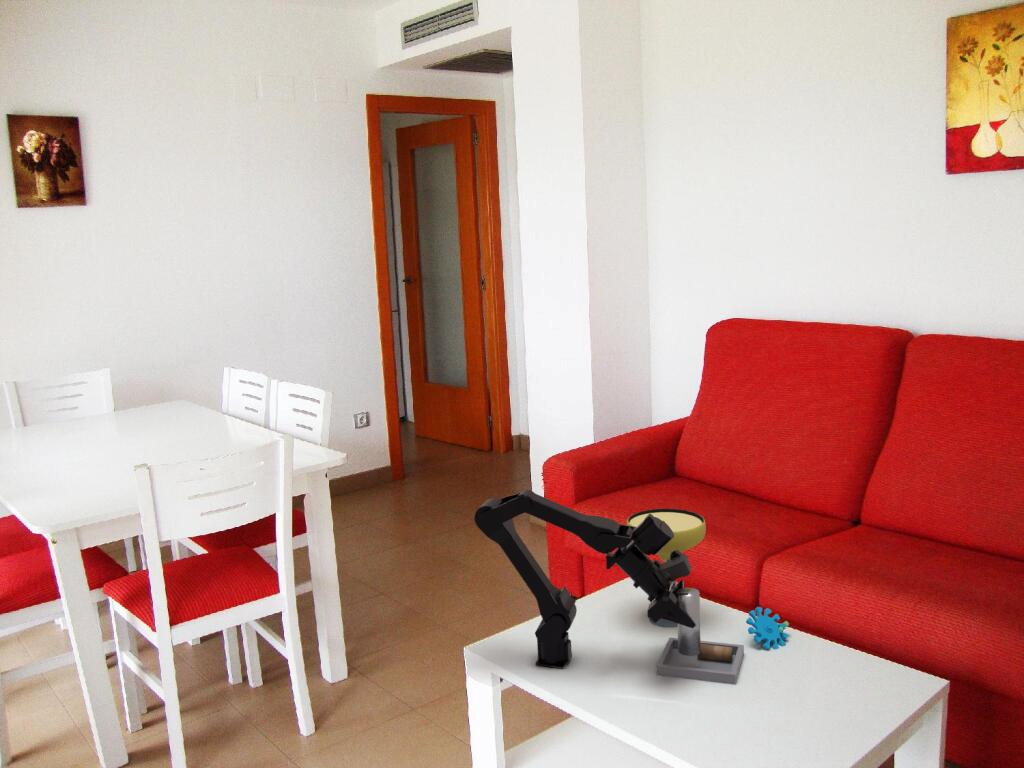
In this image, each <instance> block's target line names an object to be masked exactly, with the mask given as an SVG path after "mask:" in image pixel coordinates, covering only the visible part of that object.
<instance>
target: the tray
mask: <svg viewBox="0 0 1024 768" xmlns="http://www.w3.org/2000/svg"><path fill="white" fill-rule="evenodd" d="M701 644H705V645H715V646H724V647H732V648H733V657H732V662H727V661H718V660H709V659H700V658H698V657H697V655H695V656H685V655H682V654H680V653H679V652H678V637H671V636H670V637H668V639H667V642H666V644H665V647H664V648H663V650H662V653H661V655H660V657H659V659H658V661H657V663H656V676H661V677H670V678H676V679H686V680H693V681H694V680H696V681H702V682H703V681H704V682H711V683H719V684H728V685H736V684H737V680H738V678H739V677H738V676H739V673H740V670H741V666H742V662H743V659H744V655H745V649H744V648H745V645H743V644H737V643H725V642H717V641H706V640H701Z"/></svg>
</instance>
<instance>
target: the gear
mask: <svg viewBox="0 0 1024 768" xmlns="http://www.w3.org/2000/svg"><path fill="white" fill-rule="evenodd" d="M762 612H764V614H763V615H762ZM771 613H772V610H771V609H770V608H767V607H766V609H764V611H763V607H761V606H757V607H756V608H755V610H754V609H753V610H751V611H749V612H748V614H747V615H749V617H748V618H747V619H746V620H745V623H746V624H747V625H750V626H749V627H748V628H747V632H748V634H749V635H753V634H754V636H753V641H754V642H755V643H756V644H759V643H761V642H762V641H765V642H764V644H762V648H763V649H765V650H767V651H768V650H769V649H770V647H771V649H772V650H779V649H780V646H781V647H784V646H786V645H787V643H786V641H785V640H787V639H788V637H789V634H788V633H786V632H784V630H786V629H787V627H788V626H789V625H790V623H789V622H788V621H787V620H786V621H784V622H783V623H778V621H779V620H780V619H781V618H780V616H779V614H778V613H775V614H774V615H773V617H769V615H770V614H771ZM756 615H757V616H756ZM770 643H772V646H770V645H771V644H770Z"/></svg>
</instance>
